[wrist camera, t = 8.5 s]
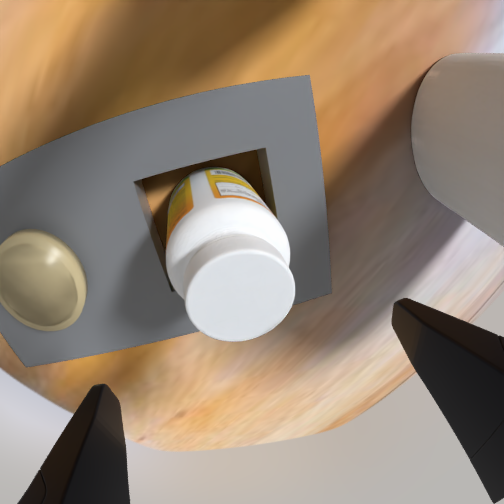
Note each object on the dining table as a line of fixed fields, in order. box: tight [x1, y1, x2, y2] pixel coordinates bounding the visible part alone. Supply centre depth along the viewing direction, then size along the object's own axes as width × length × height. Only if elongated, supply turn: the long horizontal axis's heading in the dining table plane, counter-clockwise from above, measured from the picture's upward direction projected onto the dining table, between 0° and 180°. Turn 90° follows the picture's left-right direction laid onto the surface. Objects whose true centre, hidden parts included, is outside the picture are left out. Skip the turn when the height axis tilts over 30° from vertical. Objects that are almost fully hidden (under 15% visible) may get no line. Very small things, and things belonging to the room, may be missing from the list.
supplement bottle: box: [166, 167, 295, 342], centre depth 15 cm, size 5×5×10 cm
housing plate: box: [0, 75, 332, 367], centre depth 17 cm, size 24×14×4 cm, turn 101°
